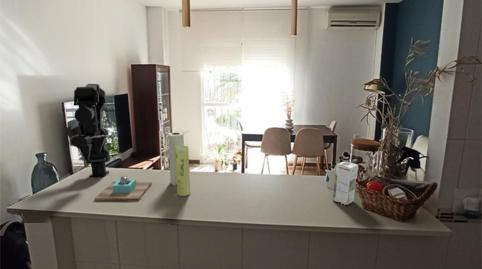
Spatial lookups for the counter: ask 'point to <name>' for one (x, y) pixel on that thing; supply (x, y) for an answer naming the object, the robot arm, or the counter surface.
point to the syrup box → (345, 182)
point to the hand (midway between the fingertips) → (92, 157)
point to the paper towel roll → (174, 139)
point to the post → (124, 180)
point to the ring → (124, 186)
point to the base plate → (133, 196)
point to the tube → (182, 170)
